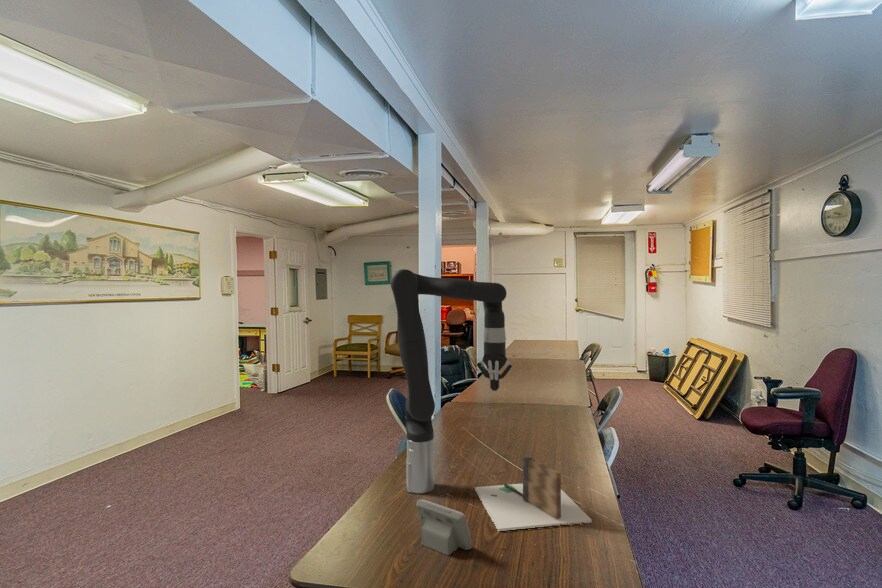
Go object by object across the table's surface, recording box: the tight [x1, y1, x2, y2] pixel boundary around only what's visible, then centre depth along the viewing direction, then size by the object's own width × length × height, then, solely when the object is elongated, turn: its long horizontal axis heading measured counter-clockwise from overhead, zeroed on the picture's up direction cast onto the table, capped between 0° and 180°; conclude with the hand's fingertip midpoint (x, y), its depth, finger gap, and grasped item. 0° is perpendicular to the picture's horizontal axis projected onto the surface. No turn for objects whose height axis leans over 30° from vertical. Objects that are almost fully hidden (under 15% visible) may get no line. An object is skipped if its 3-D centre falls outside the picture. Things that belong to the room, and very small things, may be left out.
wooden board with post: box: [503, 456, 562, 519], centre depth 148 cm, size 26×3×13 cm, turn 29°
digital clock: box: [415, 498, 473, 556], centre depth 126 cm, size 16×9×11 cm, turn 41°
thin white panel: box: [474, 483, 593, 532], centre depth 148 cm, size 28×28×1 cm
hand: (494, 390), depth 163 cm, fingers closed
